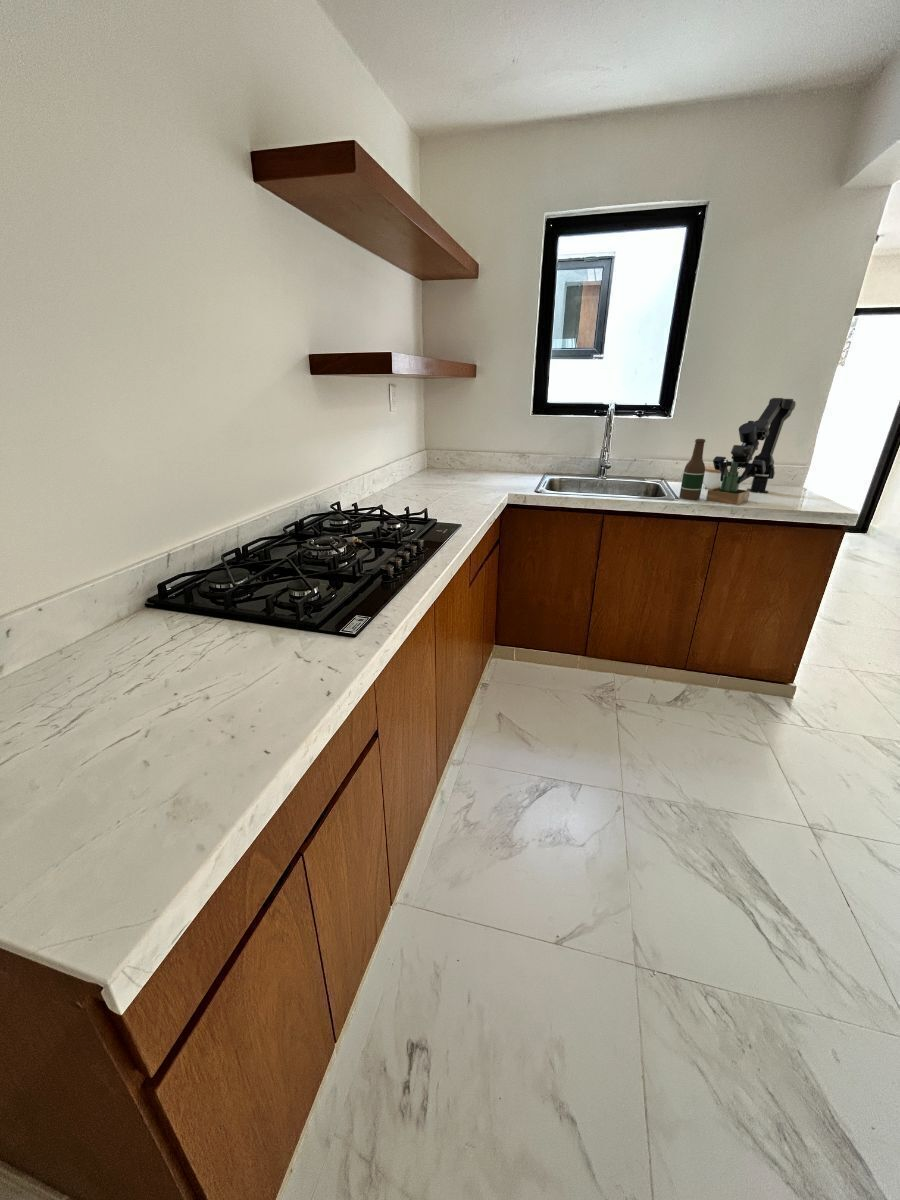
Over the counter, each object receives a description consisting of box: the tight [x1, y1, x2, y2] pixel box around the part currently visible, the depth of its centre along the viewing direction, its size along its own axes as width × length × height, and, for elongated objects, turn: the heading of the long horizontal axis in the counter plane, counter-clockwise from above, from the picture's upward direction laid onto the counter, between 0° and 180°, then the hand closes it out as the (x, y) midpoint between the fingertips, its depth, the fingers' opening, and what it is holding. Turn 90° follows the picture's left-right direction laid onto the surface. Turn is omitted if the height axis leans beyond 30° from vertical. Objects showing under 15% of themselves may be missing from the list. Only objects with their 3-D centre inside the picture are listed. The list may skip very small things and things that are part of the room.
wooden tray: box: [705, 487, 751, 506], centre depth 203 cm, size 12×12×4 cm
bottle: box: [720, 462, 741, 494], centre depth 200 cm, size 6×6×15 cm
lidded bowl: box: [702, 465, 730, 490], centre depth 229 cm, size 13×13×11 cm
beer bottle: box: [679, 438, 706, 501], centre depth 203 cm, size 8×8×24 cm
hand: (729, 481), depth 200 cm, fingers closed on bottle, 6 cm apart
